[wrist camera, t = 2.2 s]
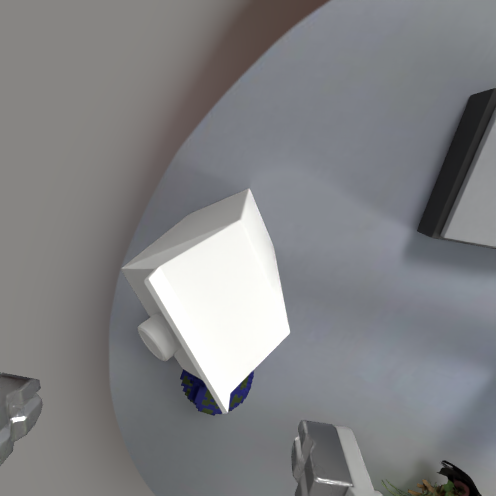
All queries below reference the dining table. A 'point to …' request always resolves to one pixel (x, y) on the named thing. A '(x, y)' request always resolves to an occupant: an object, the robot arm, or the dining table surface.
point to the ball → (205, 400)
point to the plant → (454, 492)
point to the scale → (467, 180)
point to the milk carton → (212, 294)
